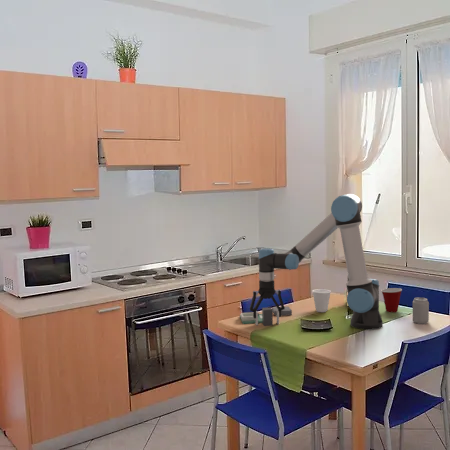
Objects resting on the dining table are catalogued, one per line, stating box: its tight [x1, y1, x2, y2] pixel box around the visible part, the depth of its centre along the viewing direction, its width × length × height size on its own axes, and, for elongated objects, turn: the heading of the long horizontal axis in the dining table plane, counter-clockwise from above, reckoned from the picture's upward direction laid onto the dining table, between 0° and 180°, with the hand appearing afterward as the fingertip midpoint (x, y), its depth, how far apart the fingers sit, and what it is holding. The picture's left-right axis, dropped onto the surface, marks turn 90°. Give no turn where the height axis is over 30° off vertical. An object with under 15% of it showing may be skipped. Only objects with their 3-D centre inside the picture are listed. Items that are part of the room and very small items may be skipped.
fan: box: [271, 305, 293, 317], centre depth 290 cm, size 9×9×3 cm
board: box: [239, 312, 262, 325], centre depth 279 cm, size 14×12×3 cm
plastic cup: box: [380, 287, 403, 313], centre depth 289 cm, size 11×11×12 cm
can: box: [412, 297, 430, 325], centre depth 266 cm, size 8×8×12 cm
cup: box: [311, 288, 332, 313], centre depth 293 cm, size 10×10×11 cm
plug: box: [261, 307, 274, 327], centre depth 270 cm, size 5×4×8 cm
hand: (267, 324), depth 270 cm, fingers open, 10 cm apart
